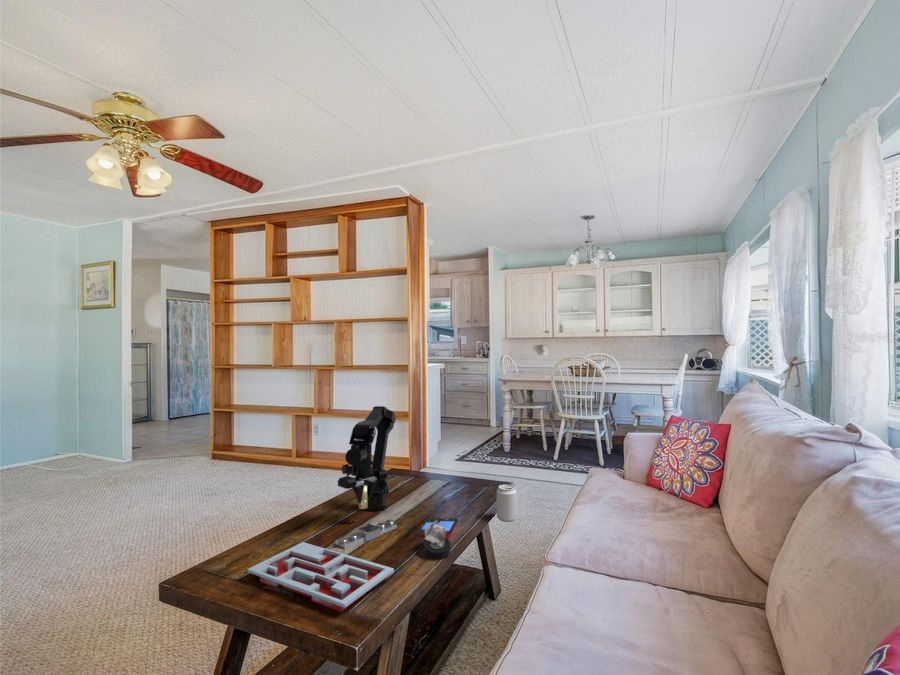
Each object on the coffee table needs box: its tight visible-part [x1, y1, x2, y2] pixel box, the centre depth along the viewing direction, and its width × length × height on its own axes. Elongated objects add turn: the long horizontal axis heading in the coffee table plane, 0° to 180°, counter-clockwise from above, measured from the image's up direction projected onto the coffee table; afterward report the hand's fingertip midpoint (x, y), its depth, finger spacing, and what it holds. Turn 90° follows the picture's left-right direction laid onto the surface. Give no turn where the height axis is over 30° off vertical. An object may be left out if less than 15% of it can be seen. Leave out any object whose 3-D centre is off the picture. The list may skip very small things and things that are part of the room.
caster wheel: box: [423, 520, 452, 561], centre depth 138 cm, size 7×11×10 cm
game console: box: [414, 517, 459, 539], centre depth 155 cm, size 14×13×2 cm
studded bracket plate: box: [335, 519, 398, 550], centre depth 149 cm, size 23×6×2 cm, turn 139°
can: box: [496, 484, 518, 523], centre depth 165 cm, size 8×8×12 cm
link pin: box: [358, 483, 368, 510], centre depth 161 cm, size 3×3×8 cm
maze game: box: [247, 541, 395, 613], centre depth 121 cm, size 35×20×3 cm, turn 61°
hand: (363, 501), depth 161 cm, fingers closed on link pin, 3 cm apart
